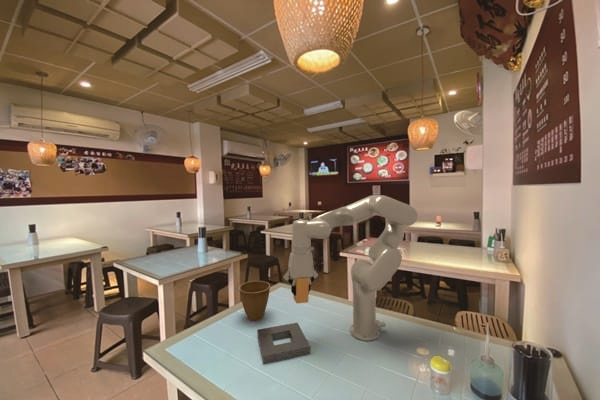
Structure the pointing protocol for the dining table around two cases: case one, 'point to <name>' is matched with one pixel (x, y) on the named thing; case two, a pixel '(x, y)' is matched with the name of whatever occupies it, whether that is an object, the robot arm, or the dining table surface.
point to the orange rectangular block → (301, 290)
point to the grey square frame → (285, 350)
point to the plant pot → (254, 299)
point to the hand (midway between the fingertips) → (300, 293)
